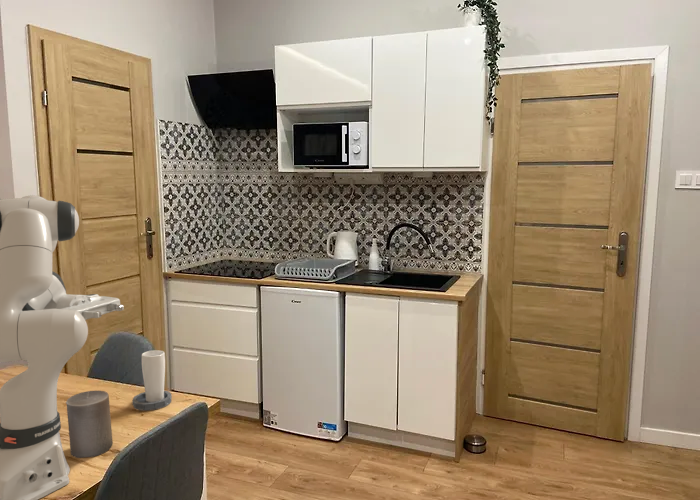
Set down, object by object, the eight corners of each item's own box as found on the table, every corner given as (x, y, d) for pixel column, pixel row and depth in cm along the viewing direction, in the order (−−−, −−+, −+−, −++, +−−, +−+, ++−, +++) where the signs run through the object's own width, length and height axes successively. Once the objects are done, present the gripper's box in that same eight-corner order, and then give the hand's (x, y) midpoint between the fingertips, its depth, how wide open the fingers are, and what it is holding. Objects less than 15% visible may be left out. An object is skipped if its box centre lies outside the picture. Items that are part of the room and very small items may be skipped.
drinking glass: (138, 402, 163) (136, 354, 162) (156, 394, 169) (154, 348, 168) (153, 406, 160) (151, 357, 158) (171, 398, 166) (169, 351, 164)
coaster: (156, 412, 157) (155, 406, 157) (125, 408, 160) (124, 401, 160) (178, 398, 168) (178, 392, 167) (149, 394, 171) (148, 388, 171)
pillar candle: (101, 436, 142) (97, 382, 140) (119, 447, 136) (115, 391, 134) (63, 450, 135) (58, 394, 133) (81, 463, 129) (75, 403, 127)
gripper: (47, 305, 158) (84, 308, 154) (98, 292, 178) (133, 295, 174) (48, 326, 159) (85, 329, 155) (99, 311, 179) (134, 314, 174)
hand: (111, 311), depth 164 cm, fingers open, 8 cm apart
